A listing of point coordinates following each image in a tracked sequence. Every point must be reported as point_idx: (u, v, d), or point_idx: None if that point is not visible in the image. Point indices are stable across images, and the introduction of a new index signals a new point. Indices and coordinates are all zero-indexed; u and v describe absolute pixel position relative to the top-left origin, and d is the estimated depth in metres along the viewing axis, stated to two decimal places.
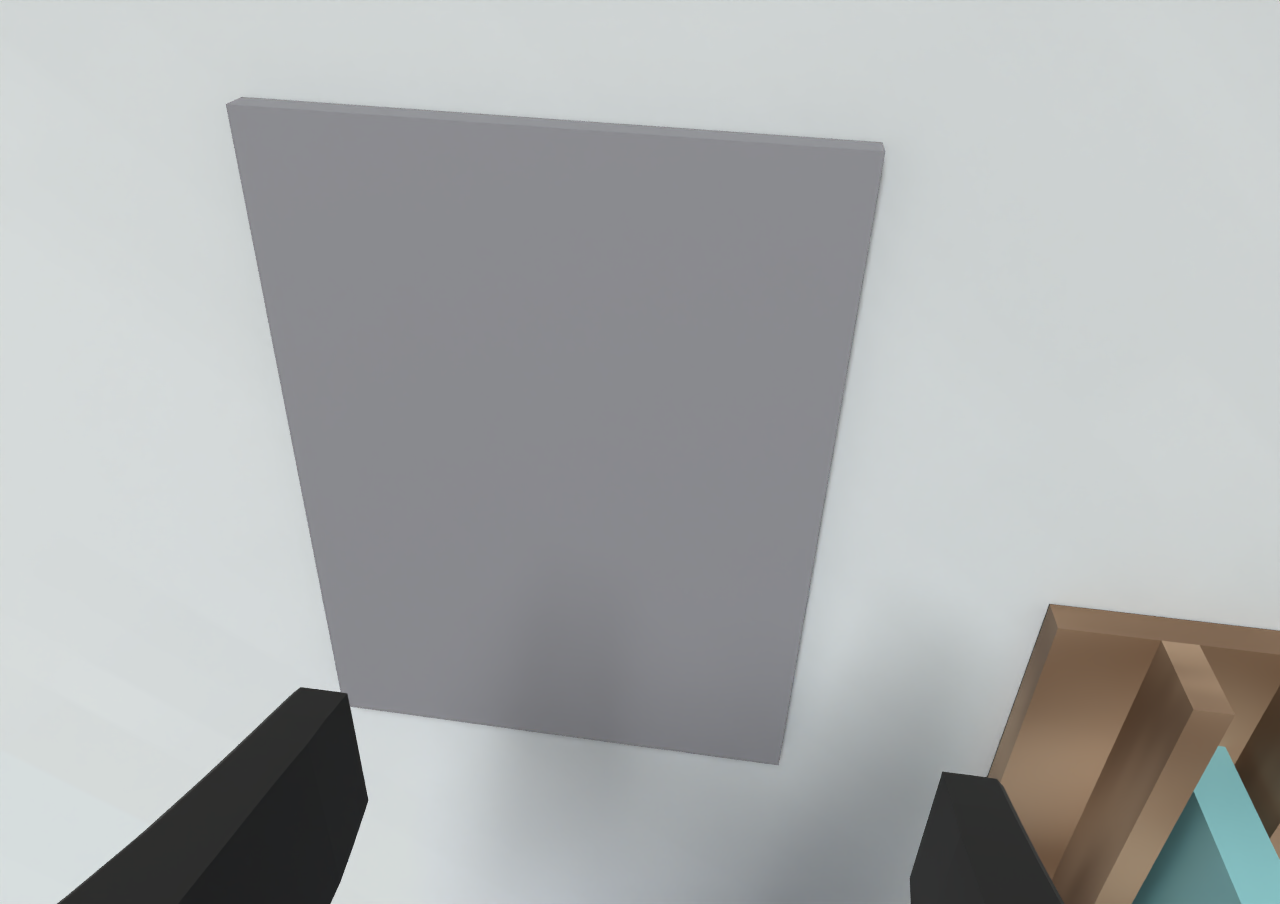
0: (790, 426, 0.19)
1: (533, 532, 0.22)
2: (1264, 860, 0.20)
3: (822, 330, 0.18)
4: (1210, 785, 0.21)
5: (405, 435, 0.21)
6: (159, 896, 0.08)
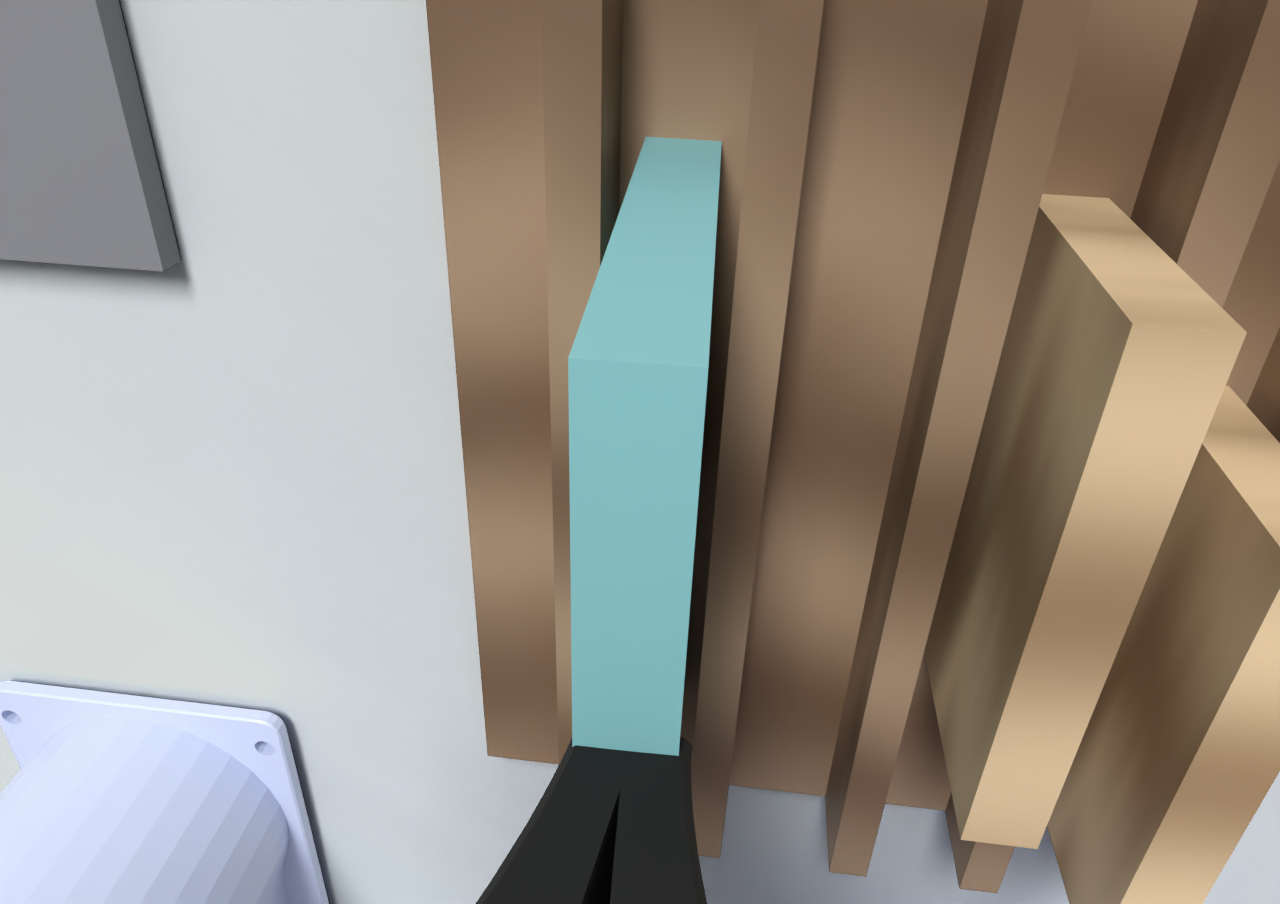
0: None
1: None
2: (694, 196, 0.12)
3: None
4: (669, 157, 0.14)
5: None
6: None
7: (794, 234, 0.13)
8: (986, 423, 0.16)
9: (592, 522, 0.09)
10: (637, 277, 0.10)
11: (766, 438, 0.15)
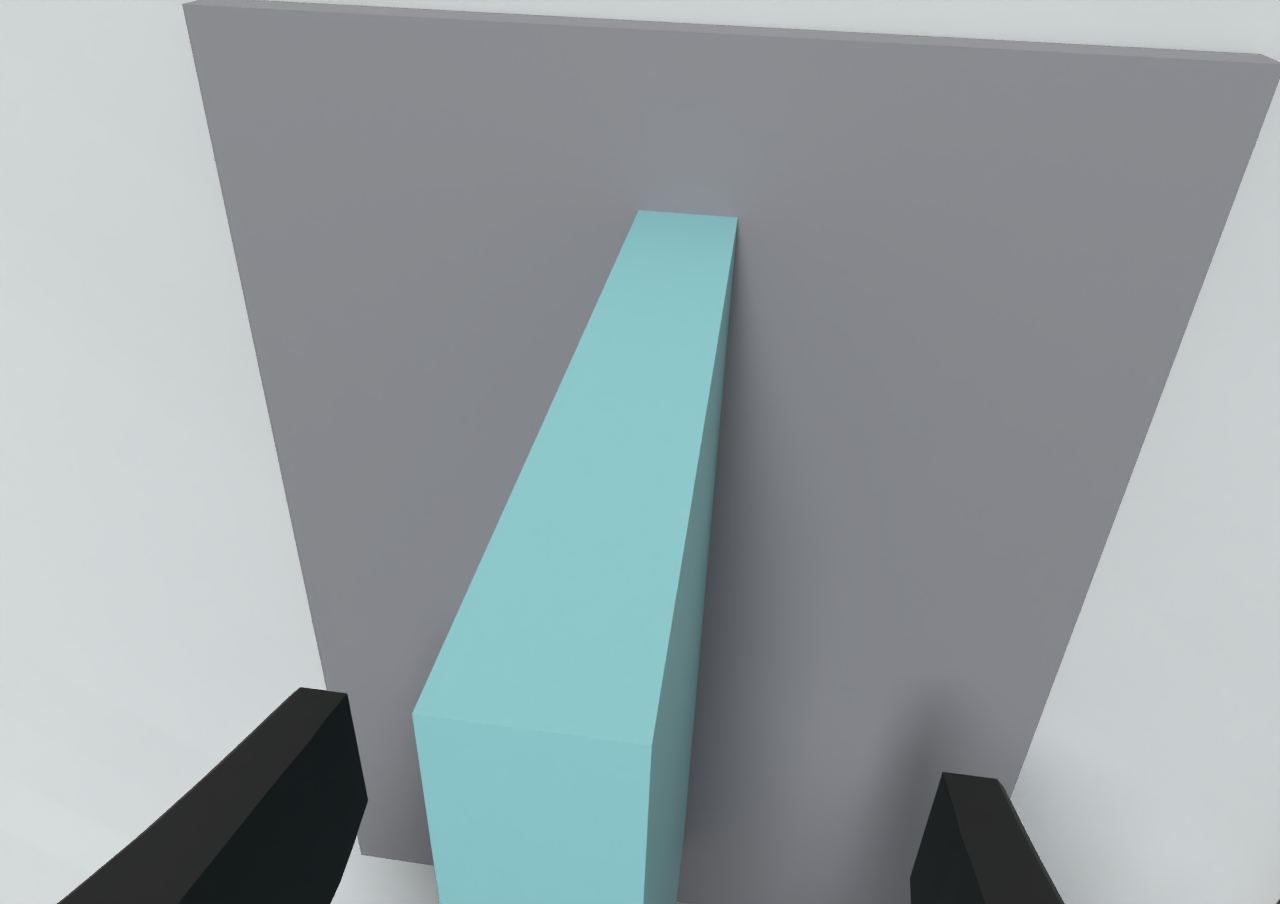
0: (1045, 503, 0.13)
1: None
2: (686, 319, 0.09)
3: (1121, 360, 0.12)
4: (662, 247, 0.10)
5: (455, 511, 0.14)
6: (159, 897, 0.08)
7: None
8: None
9: None
10: (574, 496, 0.06)
11: None
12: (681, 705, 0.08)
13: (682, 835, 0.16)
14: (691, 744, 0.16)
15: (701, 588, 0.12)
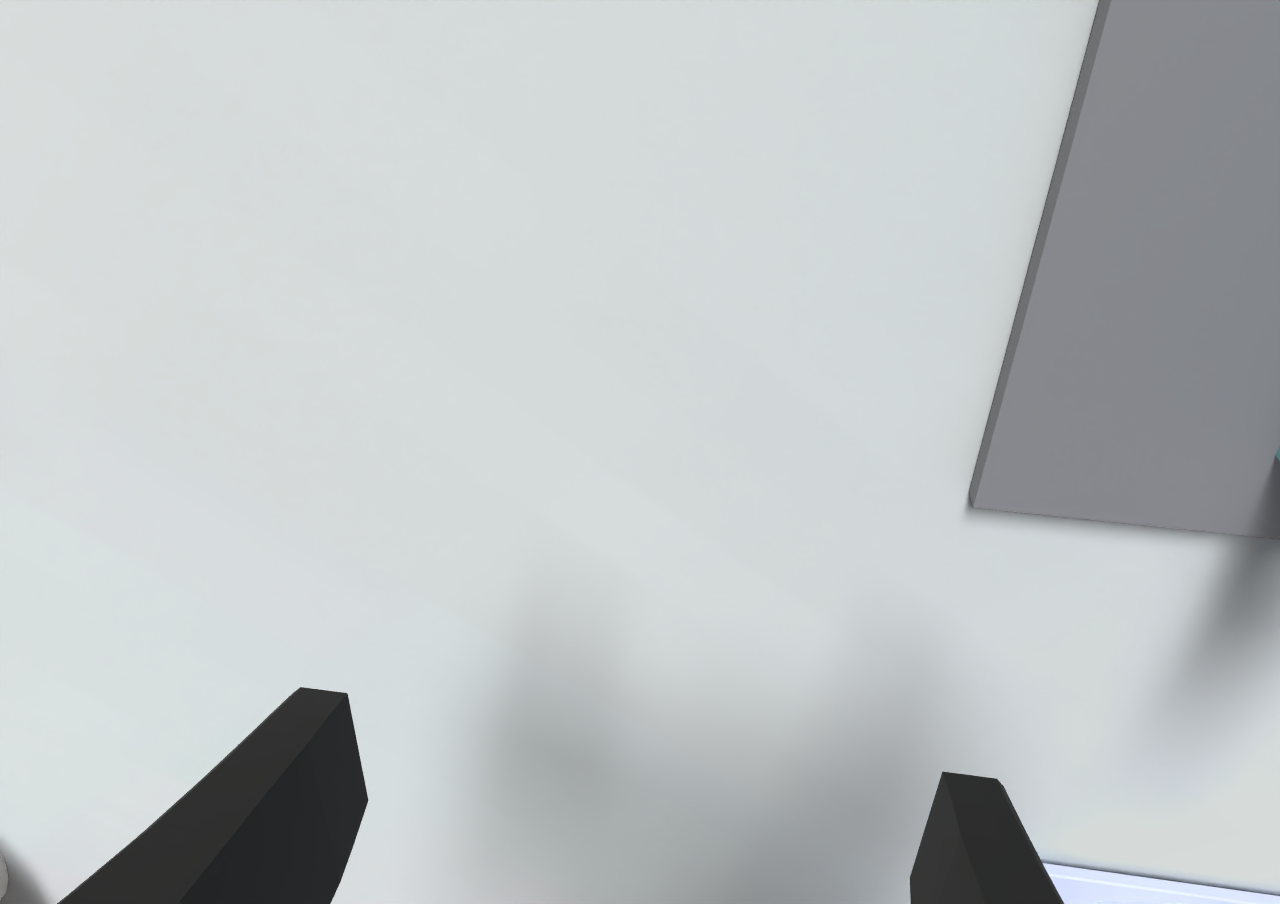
0: None
1: None
2: None
3: None
4: None
5: (1274, 61, 0.15)
6: (159, 897, 0.08)
7: None
8: None
9: None
10: None
11: None
12: None
13: None
14: None
15: None
